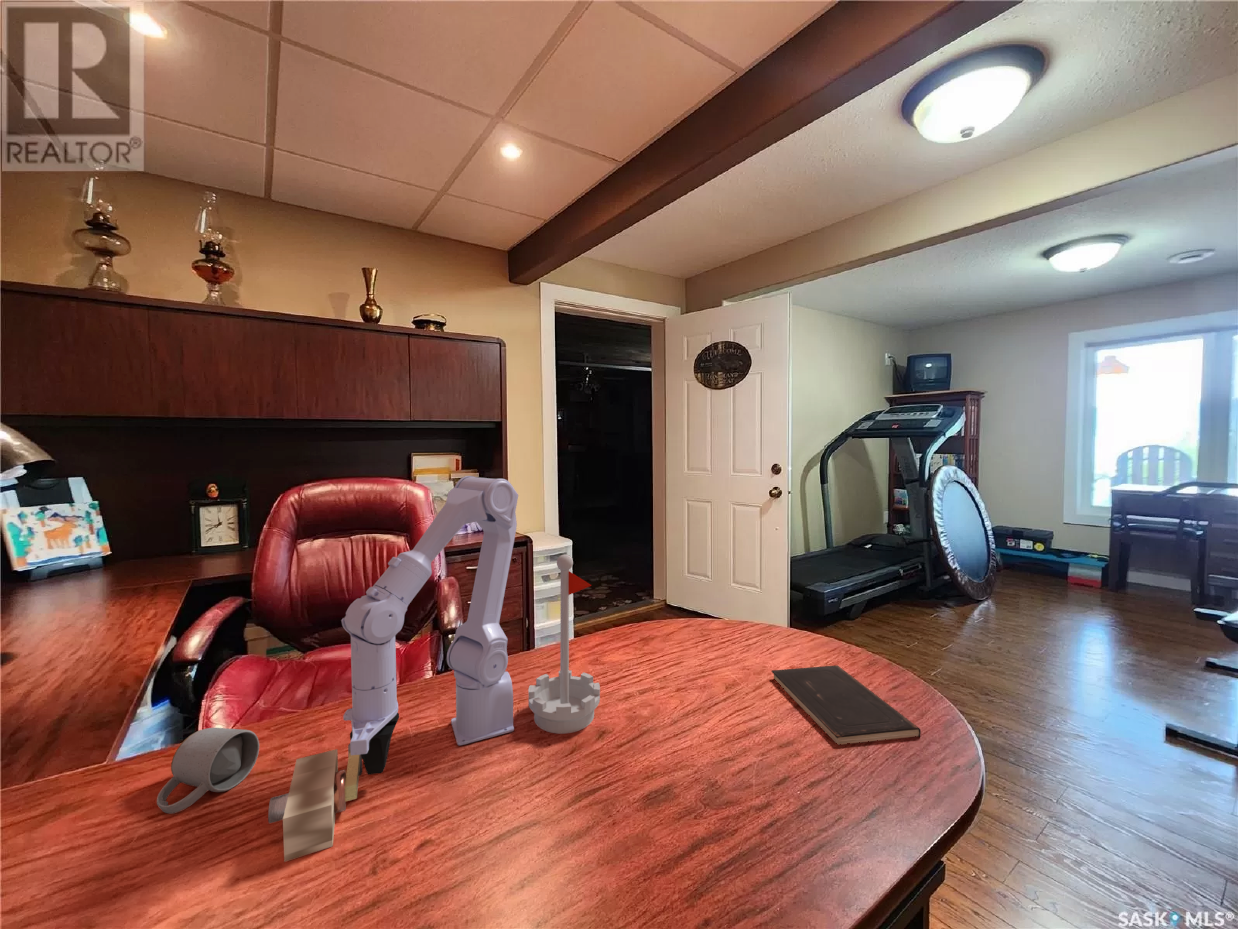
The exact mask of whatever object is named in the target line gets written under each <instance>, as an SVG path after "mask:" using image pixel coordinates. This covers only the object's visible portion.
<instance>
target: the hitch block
mask: <svg viewBox="0 0 1238 929" xmlns="http://www.w3.org/2000/svg"><path fill="white" fill-rule="evenodd" d="M338 756H339V755H338V748H336V749H331V750H328V751H324V752H319V753H316V754H312V755H307V756H304V757H299V758H296V760H295V765H294V769H293V774H292V777H291V778H292V779H291V781H290V786H289V791H288V793H289V795H288V799H287V803H286V808H285V812H284V816H283V820H282V830H283V831H282V834H283V859H284V860H283V862H284V863H286V862H288V861H292V860H294V859H297V858H300V857H304V856H307V855H310V854H312V853H316V852H319V851H322V850H326V849H328V848H329V849H330V848H332V847H333V846H334V837H335V836H334V835H335V823H336V814H337V813H335V812H334V778H335V772H338V771H339V767H338V766H339V760H338Z"/></svg>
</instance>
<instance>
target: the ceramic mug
mask: <svg viewBox="0 0 1238 929" xmlns="http://www.w3.org/2000/svg"><path fill="white" fill-rule="evenodd" d="M259 752H260V739H259V738H258V736H257V734H256V733H255V732H254V731H252V730H249V729H241V728H239V729H238V728H226V727H225V728H224V727H209V728H208V727H207V728H203V729H200V730H197V731H195V732H193V733H191V734H190V735H189V736H188V737H186V738H185V739H184V740H183V741H182V742H181V743H180V744H179V746H178V747H177V749H176V750H175V752H174V755H173V756H172V760H171V765H170V770H171V774H172V777H171V779H169V780H168V781H167V783H166V784H165V785H164V786H162V789H161V790H160V791H159V792H158V794H157V797H156V806H158V808H159V809H160V810H161V811H162V812H164V814H176V813H180V812H181V811H185V809H187V808H188V807H191V806H192V805H193V804H195V803H196V802H197V801H198V800H200V799H201V798H203V796H204V795H205V794H206V793H207V792H208V791H211V792H215V793H224V792H226V791H229V790H231V789H233V788H235V787H237V786H238V785H239V784H240V783H241V782H243V781H244V780H245V779H246V778H247V777H248V775H249V774H250V773H251V771H252V769H254V766H255V765H256V763H257V759H258V756H259ZM179 784H185V785H187V786H192V787H195V789H194V790H193V791H191V792H190V793H189V794H187V795H186V796H185V797H184V798H182V799H180V800H178V801H177V802H174V803H171V804H169V802H168V801H167V799H168V797H169V796H170V794H172V792H173V791H174V789H176V787H177V786H178V785H179Z"/></svg>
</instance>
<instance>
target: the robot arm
mask: <svg viewBox="0 0 1238 929" xmlns="http://www.w3.org/2000/svg"><path fill="white" fill-rule="evenodd" d="M518 501H519V493H518V492H517V490H516V489H515V487H514V486H513V484H511V482H510V481H509V480H508V479H505V478H489V477H488V478H487V477H480V476H479V477H477V476H473V475H465V476H463V477H461V478H460V479H458V481H456V484H455V485H454V487H452V489H451V490H449V491H448V493H447V498H446V501H445V503H444V505H443V506H442V507H441V509H440V511H438V513H437V515H436V516H435V518H434V519H433V521H432V522H431V523H430V525H429V526H428V528H426V531H425V532H424V533H423V534H422V535H421V537H420V539H419V540H418V541H417V543H415V546H414V547H413V549H411V550H407V551H404V552H400V553H399V554H398V555H397V556H396V557H395V556H392V557H391V559H390V560H389V561H388V562H387V565H388V568H387V569H385V571H384V572H383V574H382V575H380V577H379V578H378V579H377V581H376V582H375V583H374V584H373V586H369V587H368V589H367V590H366V591H365V594H366V595H362V596H361V597H360V598H359V597H358V598H356V599H355V600H354V601H353V602H352V603H350V605H349V606H348V608H347V610H346V611H345V616H344V617H342V619H341V620H340V621H341V626H342V627H343V629H344V630H345V631H346V632H347V633H348V634H349V636H350V665H351V668H350V669H351V699H352V700H351V701H352V702H351V706H352V708H348V709H346V711H345V712H344V713H343V716H342V717H343V721H346V722H347V721H349V722H350V721H351V722H350V724H351V731H350V733H349V739H350V741H349V742H350V743H349V744H350V752H351V755H360V754H361V757H362V763H363V765H364V768H365V771H366V774H367V775H379V774H383V773H384V770H385V767H386V765H387V762H388V757H389V750H390V746H391V745H390V744H391V740H392V736H393V733H394V731H395V728H396V725H397V723H398V722H399V719H400V713H399V703H398V699H397V696H398V695H397V658H396V657H397V656H396V655H397V654H396V653H397V652H396V651H397V650H396V649H397V648H396V647H397V646H396V636H397V635H398V633H400V632H401V630H402V628H403V626H404V623H405V615H406V612H407V611H408V607H409V605H411V604H410V603H412V601H413V599H414V598H416V596H417V594H418V593H419V592H420V591H421V589H422V588H423V587H424V585H425V584H426V582H427V581H428V580H429V579H430V577H431V576H432V574H433V571H432V570H433V569H432V562H433V561H435V559H436V558H437V557H438V555H439V554H440V553H442V550H444V549H445V547H447V545H449V543H450V542H451V540H452V539H454V537H455V536H456V535H457V534H458V532H459V531H460V530H461V529H462V528H463V526H465V525H467V524H471V523H477V524H478V526H479V527H480V528H481V530H482V531H483V536H482V541H481V542H482V543H481V546H480V552H479V558H478V562H477V563H478V564H477V567H476V572H475V578H474V583H473V589H472V593H471V597H470V598H471V600H470V602H469V603H470V604H469V609H468V615H467V620H466V621H465V622H464V623H462V624H461V625H460V626H458V627H457V628H456V629H455V634H454V639H453V641H452V642H451V643H450V645H449V647H448V648H447V653H446V664H447V665H448V667H449V668H450V669H451V670H454V671H453V677H454V678H455V717H453V718H451V720H450V723H451V727H452V730H453V733H454V737H455V741H456V744H457V746H463V745H468V744H472V743H475V742H478V741H482V740H485V739H489V738H493V737H497V736H500V735H504V734H508V733H512V732H514V730H515V726H514V691H513V690H514V689H513V682H512V678H511V675H510V673H509V671H507V668H508V662H509V656H508V652H507V651H508V650H507V649H508V647H507V646H508V636H506V634H505V632H504V630H503V628H502V627H501V625H500V621H501V620H500V619H501V616H502V615H501V614H502V609H503V605H504V597H505V594H506V593H505V592H506V587H507V581H508V576H509V572H510V566H511V560H512V555H513V548H514V544H515V539H516V532H517V526H518V524H517V521H518V520H517V514H516V511H517V506H518Z"/></svg>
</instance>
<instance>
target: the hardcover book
mask: <svg viewBox="0 0 1238 929" xmlns="http://www.w3.org/2000/svg"><path fill="white" fill-rule="evenodd" d="M771 673H772V674H773V680H774V679H775V680H776V681H777V682H778V683H779V684H780V685H781V686H780V685H779V684H778V685H779V686H780V687H781V688H782V689H783V688H784V689H783V690H784V691H785V692H786V693H787V694H788V695H789V697H791V698H792V699H793V700H794V702H795V703H797V704H798V706H800V708H801V709H802V710H803V711H804V712H805V713H806V714H808V716H809V715H810V716H809V717H810V718H811V719H812V720H813V721H814V722H815V723H816V724H817V726H819V727H820V728H821V729H822V730H823V731H824V733H826V734H827V735H828V736H829V737H830V739H832V740H833V742H834V743H835V744H836V743H837V744H838V745H837V746H840V744H841V745H848V744H847V743H850V744H860V743H866V742H867V743H868V741H869V742H877V740H878V741H886V740H897V739H905V738H913V737H915V736H916V737H919V738H921V733H922V732H921V728H920V727H919V726H917V725H916V724H914V723H913V722H912V721H911V720H909V719H908V718H907V717H906V716H904V715H903V714H902V713H900V712H899V711H898V710H897V709H895V708H894V707H892V706H891V705H890V704H889V703H888V702H886V701H884V700H883V699H882V698H881V697H879V695H877V694H876V693H874V692H873V691H872V690H870V689H869V688H868V687H866V686H865V685H864V684H863V683H861V682H860V681H859V680H858V679H856V678H855V677H854V676H852V675H851V674H850V673H849V672H847V671H846V670H844V669H843V668H841V667H840V666H839V665H823V666H810V667H799V668H798V667H797V668H786V669H774V670H771ZM775 680H774V681H775ZM776 681H775V682H776ZM777 682H776V683H777ZM885 739H886V740H885ZM859 742H860V743H859Z"/></svg>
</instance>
